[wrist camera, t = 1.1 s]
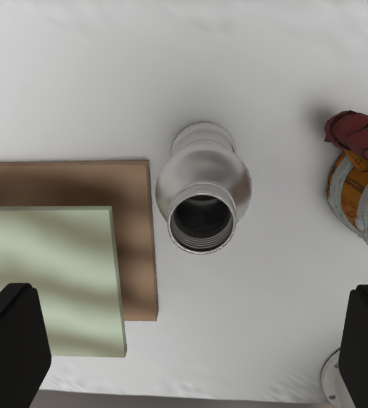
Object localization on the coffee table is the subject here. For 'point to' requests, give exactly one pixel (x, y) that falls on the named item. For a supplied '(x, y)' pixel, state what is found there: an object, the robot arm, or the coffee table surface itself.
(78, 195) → the walnut stand
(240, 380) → the coffee table surface
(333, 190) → the mug
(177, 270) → the coffee table surface
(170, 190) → the plastic bottle
